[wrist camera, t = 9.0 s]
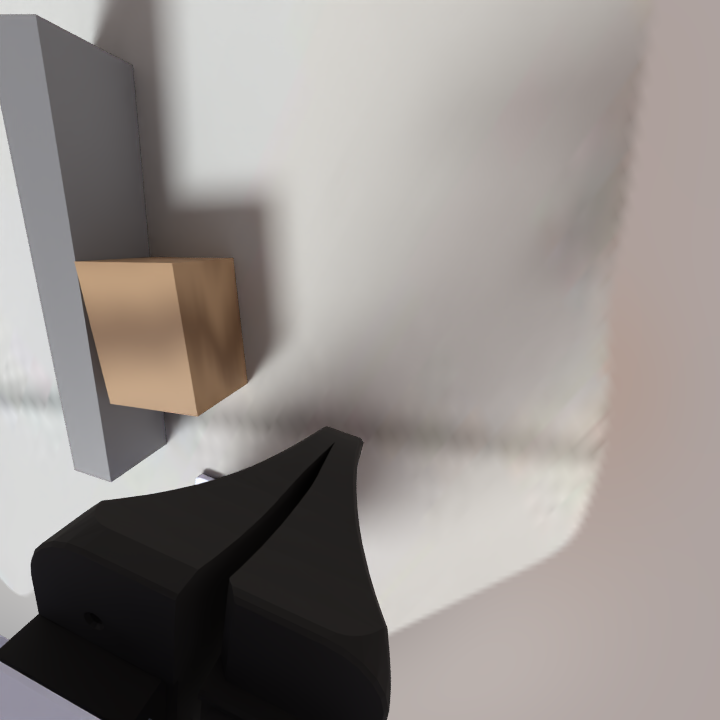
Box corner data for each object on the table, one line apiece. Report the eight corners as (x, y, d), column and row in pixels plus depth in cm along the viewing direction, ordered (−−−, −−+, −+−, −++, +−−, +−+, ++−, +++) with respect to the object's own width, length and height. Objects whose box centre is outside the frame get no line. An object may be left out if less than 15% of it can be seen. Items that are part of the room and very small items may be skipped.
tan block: (248, 382, 24) (197, 416, 19) (174, 373, 25) (110, 403, 21) (234, 257, 21) (171, 263, 17) (152, 257, 23) (74, 261, 18)
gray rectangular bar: (168, 442, 28) (111, 482, 23) (137, 432, 28) (74, 470, 24) (137, 67, 19) (35, 14, 15) (92, 66, 20) (-18, 14, 15)
